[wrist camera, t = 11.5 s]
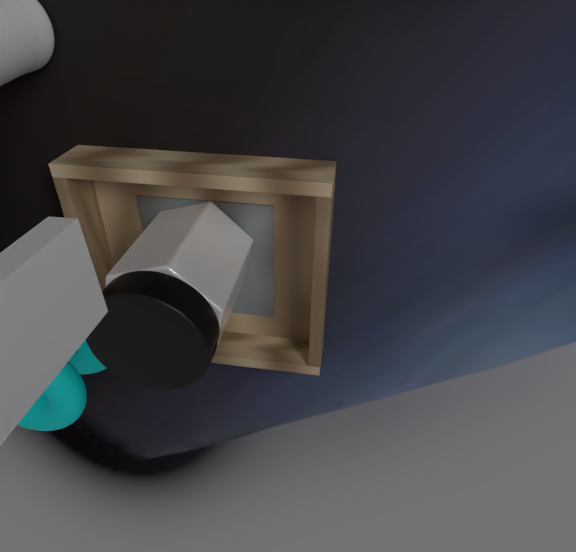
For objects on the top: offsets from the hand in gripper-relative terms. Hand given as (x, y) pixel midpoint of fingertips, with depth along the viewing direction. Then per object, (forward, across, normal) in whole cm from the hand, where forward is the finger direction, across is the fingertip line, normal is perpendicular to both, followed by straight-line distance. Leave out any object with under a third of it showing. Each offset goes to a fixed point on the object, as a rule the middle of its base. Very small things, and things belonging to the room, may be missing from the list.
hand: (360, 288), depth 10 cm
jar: (+23, +13, +13) cm, 29 cm away
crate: (+23, +13, +14) cm, 30 cm away
